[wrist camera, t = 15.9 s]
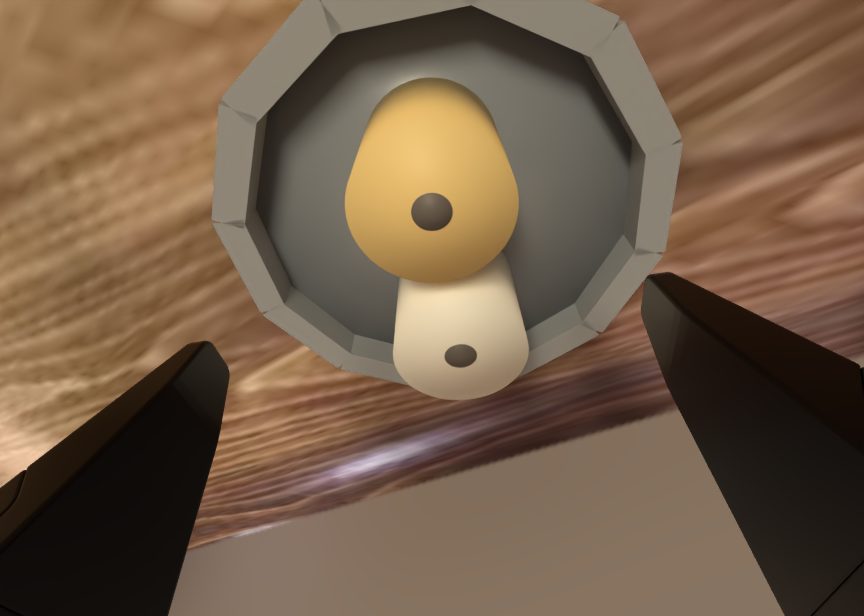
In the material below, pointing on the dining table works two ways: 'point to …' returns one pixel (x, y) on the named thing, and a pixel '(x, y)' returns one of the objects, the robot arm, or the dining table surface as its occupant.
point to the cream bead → (460, 334)
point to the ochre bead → (431, 184)
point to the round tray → (520, 135)
